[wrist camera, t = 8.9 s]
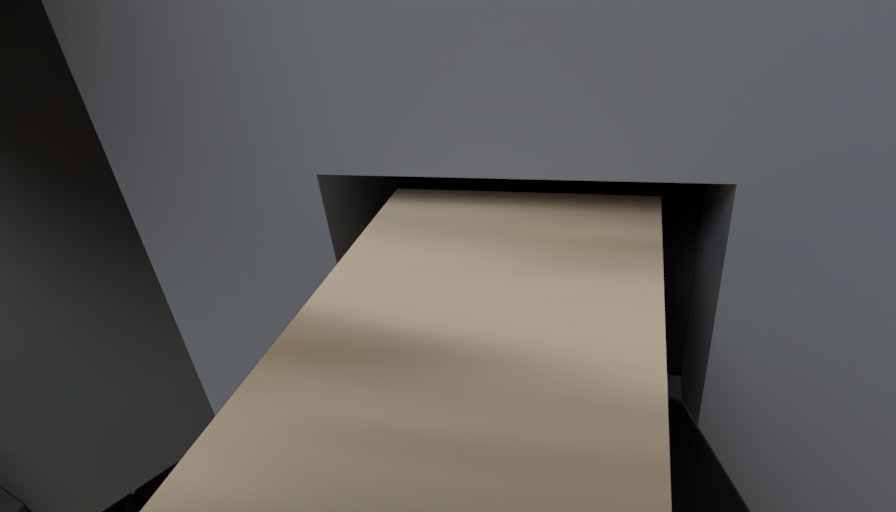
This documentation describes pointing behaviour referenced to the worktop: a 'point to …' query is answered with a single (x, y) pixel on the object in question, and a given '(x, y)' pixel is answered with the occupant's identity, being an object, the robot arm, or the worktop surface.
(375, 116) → the socket block
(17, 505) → the wine bottle
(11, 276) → the worktop surface
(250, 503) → the maple peg
